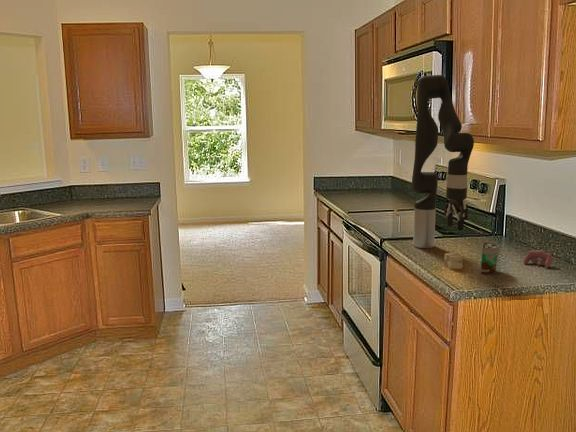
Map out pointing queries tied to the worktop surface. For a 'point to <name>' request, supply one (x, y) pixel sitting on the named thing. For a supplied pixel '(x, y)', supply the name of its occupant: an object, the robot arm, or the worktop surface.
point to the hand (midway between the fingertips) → (454, 228)
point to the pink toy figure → (535, 254)
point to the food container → (489, 257)
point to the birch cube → (453, 261)
